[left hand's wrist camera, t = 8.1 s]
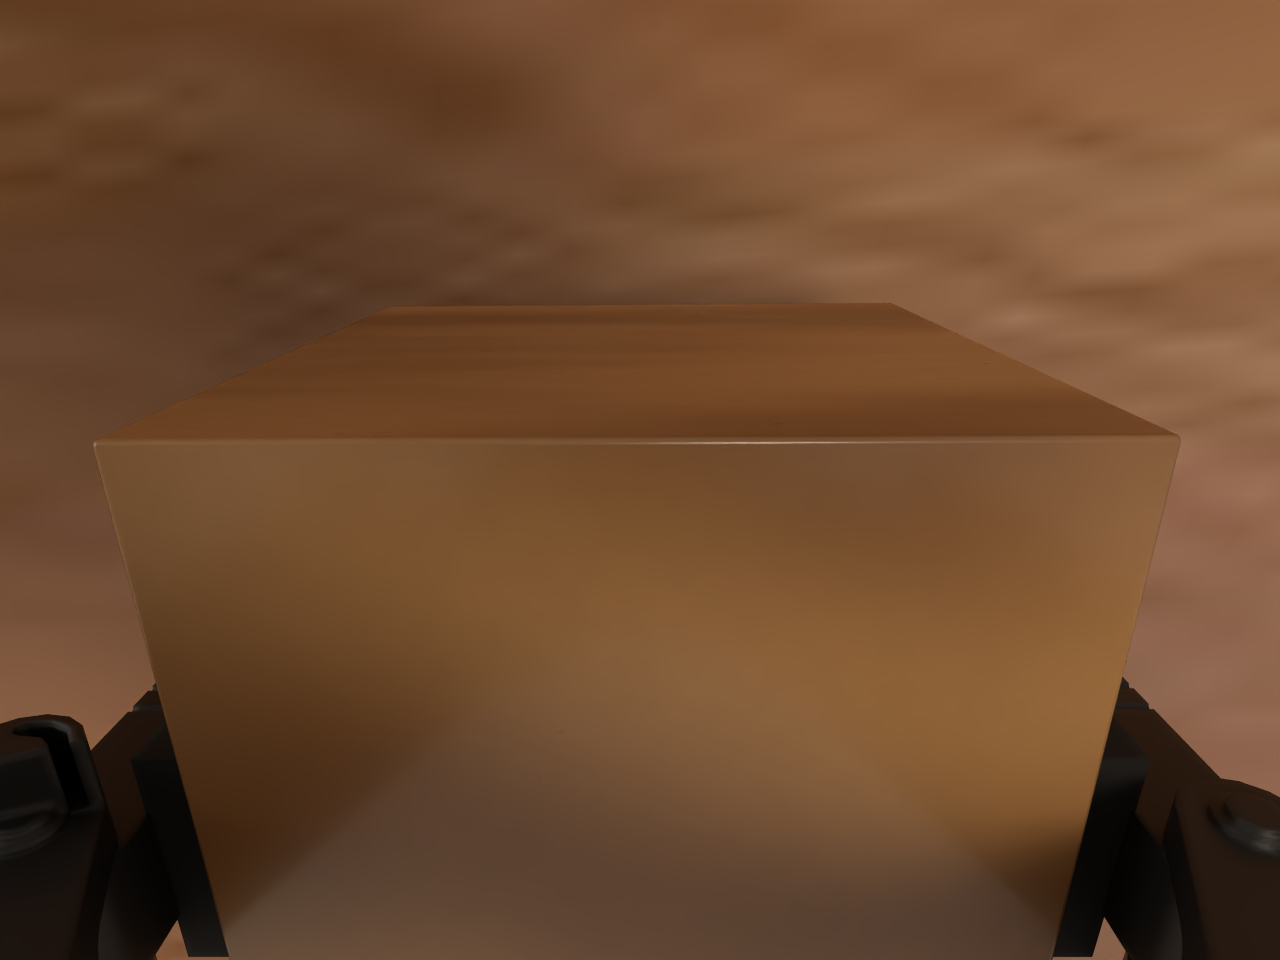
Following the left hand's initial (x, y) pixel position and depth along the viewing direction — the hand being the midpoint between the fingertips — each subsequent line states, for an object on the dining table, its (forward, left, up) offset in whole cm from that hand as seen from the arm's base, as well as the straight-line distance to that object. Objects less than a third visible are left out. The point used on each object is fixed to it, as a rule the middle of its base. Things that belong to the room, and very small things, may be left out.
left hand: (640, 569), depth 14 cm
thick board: (+4, -36, -1) cm, 36 cm away
